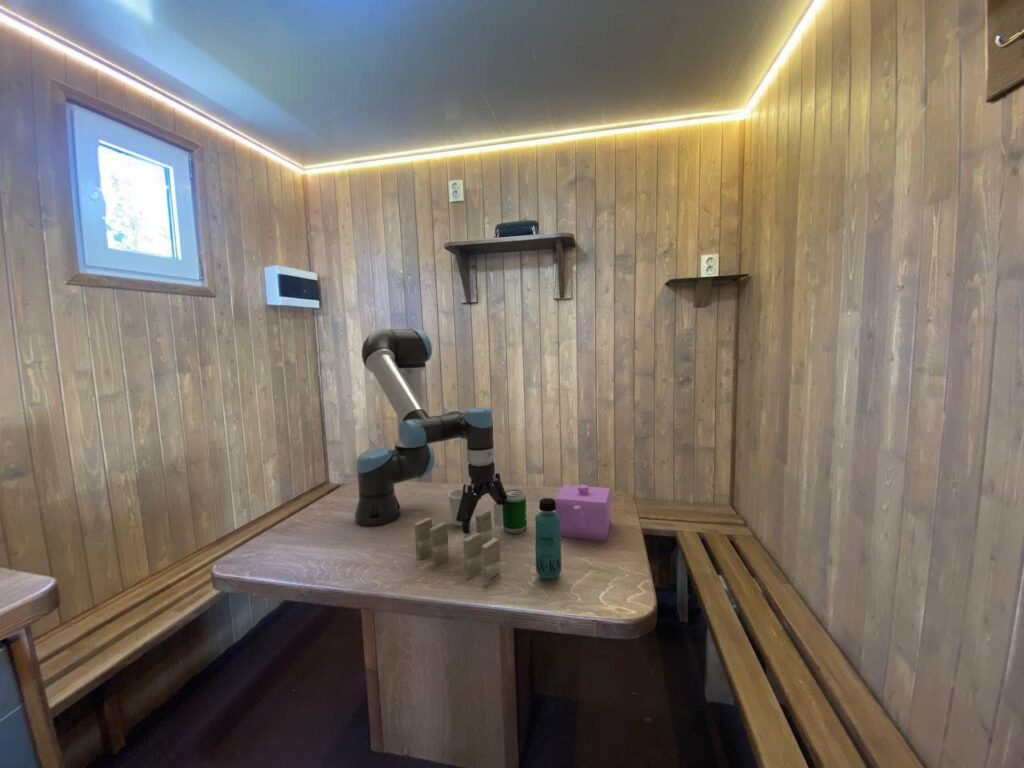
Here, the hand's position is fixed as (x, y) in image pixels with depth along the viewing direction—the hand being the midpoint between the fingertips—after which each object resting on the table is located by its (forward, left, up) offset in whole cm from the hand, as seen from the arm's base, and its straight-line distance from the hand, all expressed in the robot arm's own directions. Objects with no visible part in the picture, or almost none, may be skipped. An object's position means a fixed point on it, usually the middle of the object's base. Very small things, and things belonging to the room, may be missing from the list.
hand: (484, 534), depth 122 cm
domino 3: (+7, -13, -4) cm, 15 cm away
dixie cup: (-17, +9, -4) cm, 20 cm away
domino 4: (0, 0, -4) cm, 4 cm away
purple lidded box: (+20, +24, -4) cm, 31 cm away
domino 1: (-11, -13, -4) cm, 18 cm away
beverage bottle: (+24, -4, -4) cm, 24 cm away
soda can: (+1, +14, -4) cm, 15 cm away
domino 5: (+13, -13, -4) cm, 19 cm away
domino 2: (-5, -13, -4) cm, 15 cm away
